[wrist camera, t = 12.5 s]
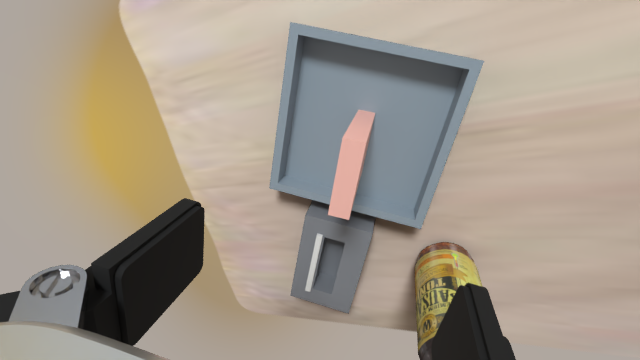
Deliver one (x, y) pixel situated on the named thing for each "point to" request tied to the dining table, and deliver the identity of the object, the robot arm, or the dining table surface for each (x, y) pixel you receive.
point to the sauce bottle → (439, 287)
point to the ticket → (350, 164)
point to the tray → (389, 122)
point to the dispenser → (331, 257)
